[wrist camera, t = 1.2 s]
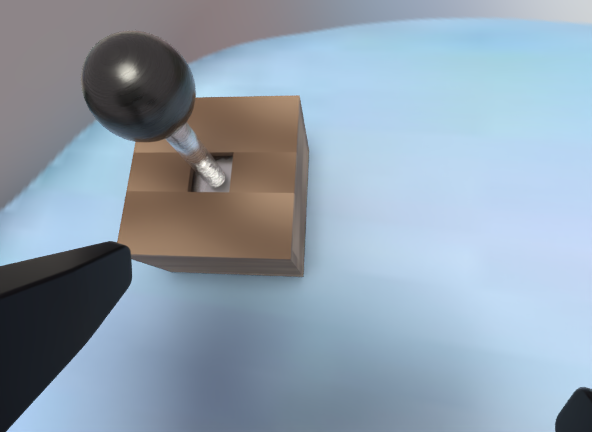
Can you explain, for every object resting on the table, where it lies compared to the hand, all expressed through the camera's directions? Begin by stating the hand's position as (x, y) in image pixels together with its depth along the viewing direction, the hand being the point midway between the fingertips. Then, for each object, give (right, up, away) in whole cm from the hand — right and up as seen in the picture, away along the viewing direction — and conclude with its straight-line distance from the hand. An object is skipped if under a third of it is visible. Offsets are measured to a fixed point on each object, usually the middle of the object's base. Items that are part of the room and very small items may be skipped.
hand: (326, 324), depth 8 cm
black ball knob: (-4, +4, +11) cm, 13 cm away
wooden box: (-4, +3, +16) cm, 17 cm away
